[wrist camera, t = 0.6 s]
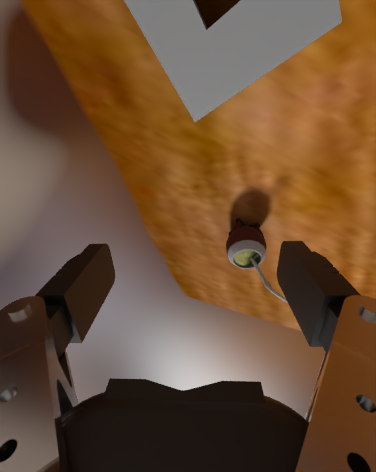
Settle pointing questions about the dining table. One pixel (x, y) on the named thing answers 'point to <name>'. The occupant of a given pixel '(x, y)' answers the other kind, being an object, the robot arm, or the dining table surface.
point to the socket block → (228, 43)
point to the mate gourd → (248, 250)
